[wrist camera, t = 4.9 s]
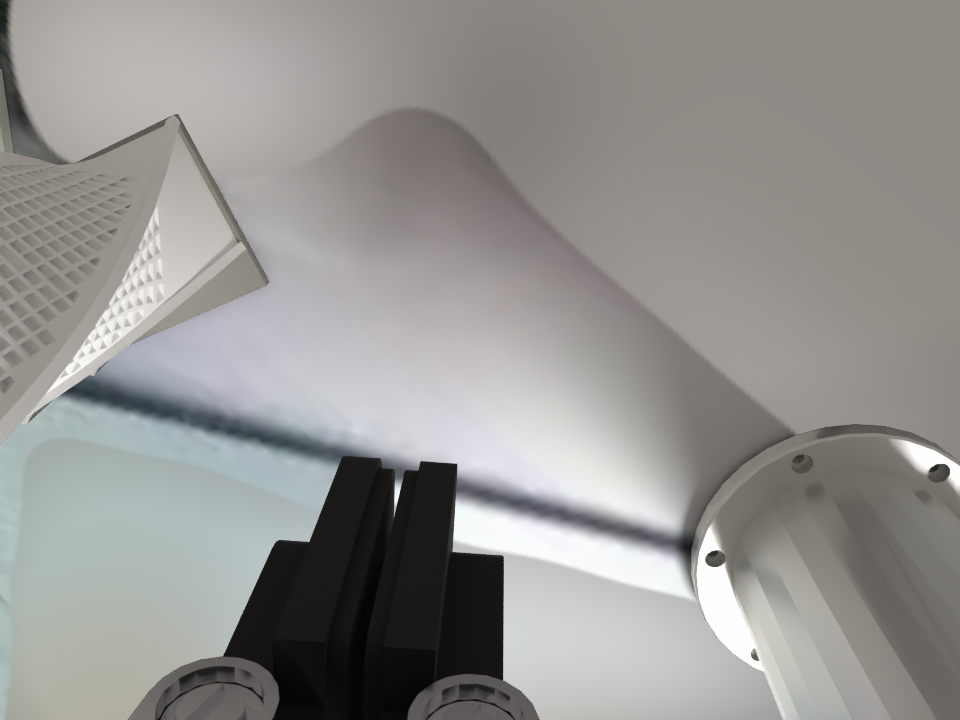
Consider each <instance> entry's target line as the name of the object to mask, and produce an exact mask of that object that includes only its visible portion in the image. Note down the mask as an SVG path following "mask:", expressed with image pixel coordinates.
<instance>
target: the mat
mask: <svg viewBox="0 0 960 720" xmlns="http://www.w3.org/2000/svg"><path fill="white" fill-rule="evenodd" d="M0 151H1V152H7V153H14V152H13V145H12V138H11V131H10V124H9V117H8V109H7V102H6V95H5V88H4V81H3V74H2V69H0Z"/></svg>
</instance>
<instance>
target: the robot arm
mask: <svg viewBox="0 0 960 720" xmlns="http://www.w3.org/2000/svg"><path fill="white" fill-rule="evenodd" d="M798 455H800V456H799V457H797V458H795V457H796V456H798ZM456 482H457V464H452V463H437V462H423V461H421V462H420V466H419V471H412V470H405V473H404V477H403V482H402V486H401V490H400V495H399V499H398V503H397V508H396V512H395V516H394V487H395V471H394V469H384V468H382V463H381V459H380V458H366V457H351V456H343V457H342V459H341V462H340V464H339V467H338V469H337V472H336V475H335V477H334V480H333V482H332V485H331V487H330V490H329V493H328V495H327V498H326V500H325V503H324V506H323V508H322V511H321V513H320V516H319V519H318V521H317V524H316V526H315V529H314V531H313V534H312V537H311V539H310V542H300V541H287V540H279V541H277V542H276V543H275V544H274V546H273V548H272V550H271V552H270V554H269V556H268V559H267V561H266V563H265V565H264V568H263V570H262V572H261V574H260V576H259V579H258V581H257V583H256V585H255V587H254V590H253V592H252V594H251V596H250V599H249V601H248V603H247V605H246V607H245V610H244V612H243V614H242V616H241V618H240V620H239V623H238V625H237V627H236V629H235V631H234V634H233V636H232V638H231V640H230V642H229V645H228V647H227V649H226V651H225V653H224V656H223V657H215V658H208V659H201V660H198V661H195V662H192V663H190V664H187V665H184V666H181V667H179V668H178V669H176V670H174V671H173V672H171V673H169V674H168V675H166V676H164V677H163V678H162V679H161V680H160V681H159V682H158V683H157V684H156V685H155V686H154V687H153V688H152V689H151V690H150V691H149V692H148V693H147V695H146V696H145V697H144V699H143V700H142V701H141V703H140V704H139V705H138V707H137V708H136V709H135V710H134V712H133V713H132V715H131V716H130V717H129V718H128V720H539V717H538V715H537V713H536V710H535V708H534V706H533V704H532V703H531V702H530V701H529V699H528V698H527V697H526V696H525V695H524V694H523V693H522V692H521V691H520V690H518V689H517V688H515V687H513V686H512V685H510V684H508V683H507V682H505V681H503V597H504V596H503V595H504V592H503V591H504V588H503V587H504V557H503V556H500V555H486V554H471V553H457V552H452V549H453V532H454V516H455V499H456ZM691 577H692V581H693V585H694V590H695V594H696V598H697V600H698V603H699V605H700V608H701V611H702V613H703V616H704V619H705V620H706V622H707V623H708V625H709V627H710V628H711V630H712V631H713V633H714V634H715V636H716V637H717V638H718V639H719V640H720V641H721V642H722V643H723V644H724V645H725V646H726V647H727V648H728V649H729V650H730V651H731V652H732V653H733V654H734V655H735V656H737V657H739V658H740V659H741V660H743V661H744V662H746V663H747V664H749V665H751V666H752V667H755V668H757V669H759V670H762V671H764V673H765V676H766V678H767V681H768V683H769V686H770V688H771V691H772V693H773V696H774V698H775V701H776V703H777V706H778V708H779V711H780V713H781V716H782V719H783V720H960V462H959V461H958V460H956V459H955V458H954V457H953V456H951V455H950V454H949V453H947V452H946V451H945V450H943V449H942V448H941V447H939V446H938V445H937V444H935V443H932V442H930V441H928V440H926V439H924V438H922V437H920V436H917V435H915V434H913V433H910V432H906V431H902V430H898V429H894V428H890V427H886V426H875V425H860V424H859V425H858V424H852V425H843V426H833V427H825V428H821V429H817V430H813V431H810V432H806V433H802V434H799V435H795V436H793V437H791V438H789V439H786V440H784V441H782V442H780V443H778V444H775V445H773V446H771V447H769V448H767V449H766V450H764V451H763V452H761V453H760V454H758V455H757V456H755V457H754V458H752V459H751V460H749V461H748V462H746V463H745V464H743V465H742V466H741V467H740V468H739V469H738V470H737V471H736V472H735V473H734V474H733V475H732V476H731V477H730V478H728V479H727V480H726V481H725V482H724V483H723V484H722V486H721V487H720V489H719V490H718V491H717V493H716V494H715V495H714V497H713V498H712V499H711V501H710V502H709V504H708V505H707V507H706V509H705V511H704V513H703V515H702V518H701V520H700V522H699V524H698V526H697V528H696V533H695V537H694V541H693V546H692V550H691Z"/></svg>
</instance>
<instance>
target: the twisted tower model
mask: <svg viewBox="0 0 960 720" xmlns="http://www.w3.org/2000/svg"><path fill="white" fill-rule="evenodd" d="M268 283H269V281H268V279H267V277H266V275H265V273H264V272H263V270H262V268H261V266H260V264H259V262H258V261H257V259H256V257H255V255H254V253H253V251H252V249H251V248H250V246H249V244H248V242H247V240H246V238H245V237H244V235H243V233H242V231H241V229H240V227H239V226H238V224H237V222H236V220H235V218H234V216H233V214H232V213H231V211H230V209H229V207H228V205H227V203H226V202H225V200H224V198H223V196H222V194H221V192H220V191H219V189H218V187H217V185H216V183H215V181H214V179H213V178H212V176H211V174H210V172H209V170H208V168H207V167H206V165H205V163H204V161H203V159H202V158H201V155H200V154H199V152H198V150H197V148H196V146H195V144H194V143H193V141H192V139H191V137H190V135H189V133H188V132H187V130H186V128H185V126H184V124H183V122H182V121H181V119H180V117H179V115H178V114H176V115H173V116H171V117H168V118H166V119H164V120H162V121H160V122H158V123H156V124H154V125H152V126H150V127H148V128H146V129H144V130H142V131H140V132H138V133H136V134H134V135H132V136H130V137H127V138H125V139H123V140H121V141H119V142H117V143H115V144H113V145H111V146H109V147H107V148H105V149H103V150H101V151H99V152H97V153H95V154H93V155H91V156H88V157H86V158H84V159H82V160H80V161H78V162H76V163H73V164H65V165H56V164H53V163H50V162H46V161H43V160H40V159H36V158H32V157H27V156H23V155H19V154H14V153H7V152H1V151H0V446H1V445H2V444H3V443H4V442H5V441H6V440H7V439H8V437H9V436H10V435H11V434H12V433H13V432H14V430H15V429H16V428H17V427H18V426H19V425H20V423H21V424H27V423H28V422H30V421H31V420H32V419H33V418H34V417H35V416H36V415H37V414H38V413H39V412H41V411H42V410H43V409H44V408H45V407H46V406H47V405H48V404H49V403H50V402H51V401H53V400H54V399H55V398H56V397H58V396H59V395H60V394H62V393H63V392H65V391H66V390H68V389H69V388H71V387H72V386H74V385H75V384H77V383H78V382H80V381H81V380H82V379H84V378H85V377H87V376H88V375H95V374H96V373H97V372H98V371H99V370H100V369H101V368H102V367H103V366H104V365H105V364H106V363H107V362H108V361H109V360H110V359H111V358H113V357H114V356H115V355H117V354H118V353H119V352H121V351H122V350H124V349H125V348H126V347H128V346H129V345H131V344H133V343H135V342H138V341H140V340H142V339H145V338H147V337H149V336H152V335H154V334H156V333H158V332H161V331H163V330H165V329H168V328H170V327H172V326H175V325H177V324H179V323H181V322H184V321H186V320H188V319H191V318H193V317H195V316H197V315H200V314H202V313H204V312H207V311H209V310H211V309H214V308H216V307H218V306H220V305H223V304H225V303H227V302H230V301H232V300H234V299H237V298H239V297H241V296H243V295H246V294H248V293H250V292H253V291H255V290H257V289H259V288H262V287H264V286H266V285H267V284H268Z"/></svg>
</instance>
